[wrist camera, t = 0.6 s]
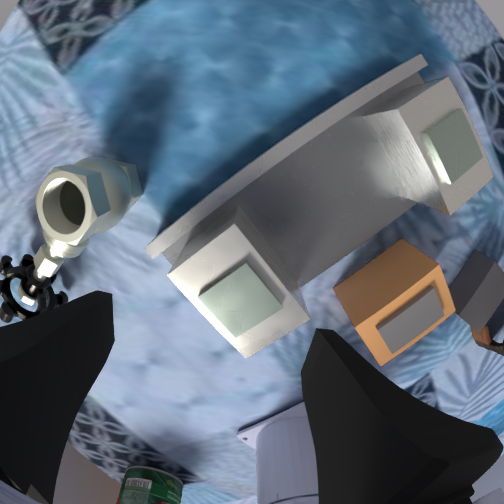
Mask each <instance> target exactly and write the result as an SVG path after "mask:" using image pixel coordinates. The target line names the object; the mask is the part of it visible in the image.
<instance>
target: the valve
mask: <svg viewBox="0 0 504 504" xmlns="http://www.w3.org/2000/svg"><path fill="white" fill-rule="evenodd" d="M142 195H143V192H142V188H141V184H140V180H139V176H138V172H137V168H136V165H133V164H129V163H125V162H121V161H117V160H113V159H107V158H104V157H89V158H85V159H82V160H80V161H78V162H77V163H75V164H74V165H64V166H59V167H54V168H53V169H52V170H51V172H50V173H49V174H48V175H47V177H46V178H45V180H44V181H43V183H42V184H41V186H40V188H39V190H38V192H37V194H36V196H35V202H36V208H37V213H38V217H39V220H40V223H41V225H42V228H43V235H44V238H45V240H46V242H47V243H45V244H44V245H42V246H41V247H40V248H39V250H38V252H37V254H36V255H35V257H34V258H33V257H32V256H31V255H29V254H25V255H24V256H23V258H22V260H21V262H20V264H19V266H17V267H13V266H12V264H11V261H12V258H11V257H10V256H7V255H5V256H3V257H2V259H1V261H0V273H1V274H2V275H4V279H3V280H0V295H1V296H2V297H3V299H4V301H5V302H3V303H2V305H1V308H0V318H1V320H2V321H4V322H6V323H8V322H11V321H12V319H13V317H18V318H20V319H22V320H26V319H29V318H32V317H34V316H37V315H39V314H42V313H44V312H47V311H49V310H52V309H54V308H56V307H59V306H61V305H63V304H65V303H67V302H68V296H67V295H66V293H64V292H63V291H60V293H59V294H54V291H53V289H52V287H51V285H52V284H53V282H54V281H55V279H56V274H55V273H56V272H57V271H58V269H59V268H60V266H61V265H62V264H63V262H64V261H65V258H64V257H68V258H74V257H77V256H79V255H80V254H81V252H82V251H83V250H84V248H85V247H86V246H87V244H88V243H89V237H90V236H91V235H92V234H96V233H101V232H104V231H107V230H109V229H111V228H112V227H114V226H115V225H116V224H117V223H118V222H119V221H120V220H121V219H122V218H123V217H124V215H125V214H126V213H127V212H128V210H129V209H130V208H131V207H132V206H133V205H134V204H135V203H136V201H137V200H138V199H139V198H140V197H141V196H142ZM14 278H19V279H21V281H20V286H19V288H18V293H19V296H20V299H21V301H23V302H24V303H26V304H29V305H33V304H34V303H36V302H37V301H38V308H37V310H36V311H35V312H31V311H28V310H26V309H24V308H23V307H21V306H20V305H19V304H18V303H17V302H16V301H15V299H14V298H13V296H12V293H11V290H10V282H11V280H13V279H14ZM46 300H47V301H46Z"/></svg>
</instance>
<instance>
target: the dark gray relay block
mask: <svg viewBox="0 0 504 504" xmlns="http://www.w3.org/2000/svg"><path fill="white" fill-rule="evenodd" d="M448 289H449V292H450V295H451V297H452V300H453V303H454V307H455V310H456V311H455V312H456V313H457V314H458V315H459V316H460V317H461V318H462V319H463V320H465V321H466V322H467V323H468V324H469V325H470V326H471V327H473V328H474V329H475V330H476V331H477V332H478V333H480V331H481V330H482V329H483V327H484V326H485V325H486V323H487V322H488V320H489V319H490V318H491V316H492V315H493V313H494V312H495V311H496V309H497V308H498V306H499V305H500V303H501V302H502V300H503V299H504V272H503V271H502V269H501V268H500V267H499V265H498V264H497V263H496V261H494V260H492V259H491V258H489V257H487V256H486V255H484V254H482V253H480V252H479V251H477V250H475V249H474V251H473V252H472V254H471V256H470V257H469V259H468V260H467V262H466V263H465V265H464V266H463V268H462V269H461V271H460V272H459V274H458V275H457V277H456V278H455V280H454V281H453V283H452V284H451V285H450V287H449V288H448Z"/></svg>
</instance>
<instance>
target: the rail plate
mask: <svg viewBox="0 0 504 504" xmlns="http://www.w3.org/2000/svg"><path fill="white" fill-rule="evenodd" d="M427 65H428V64H427V62H426V61H425V59H424V58H423V56H422V54H419V55H417V56H415V57H413V58H410V59H408V60H406V61H404V62H402V63H400V64H398V65H397V66H395V67H393V68H391V69H390V70H388V71H386V72H385V73H383V74H381V75H379V76H378V77H376V78H374V79H373V80H371V81H369V82H368V83H366V84H364V85H363V86H361V87H360V88H358V89H356V90H355V91H353V92H351V93H350V94H348V95H347V96H345V97H343V98H342V99H340V100H339V101H337V102H336V103H334V104H333V105H331V106H329V107H328V108H326V109H325V110H323V111H322V112H320V113H319V114H317V115H316V116H314V117H313V118H311V119H310V120H308V121H307V122H305V123H304V124H302V125H301V126H299V127H298V128H297V129H295V130H294V131H292V132H291V133H289V134H288V135H286V136H285V137H284V138H282V139H281V140H279V141H278V142H276V143H275V144H274V145H272V146H271V147H269V148H268V149H267V150H265V151H264V152H263V153H261V154H260V155H258V156H257V157H256V158H254V159H253V160H252V161H250V162H249V163H248V164H246V165H245V166H244V167H242V168H241V169H240V170H238V171H237V172H236V173H234V174H233V175H232V176H230V177H229V178H228V179H226V180H225V181H224V182H222V183H221V184H220V185H219V186H217V187H216V188H215V189H213V190H212V191H211V192H210V193H208V194H207V195H206V196H205V197H203V198H202V199H201V200H199V201H198V202H197V203H196V204H194V205H193V206H192V207H191V208H190V209H188V210H187V211H186V212H185V213H183V214H182V215H181V216H180V217H179V218H177V219H176V220H175V221H174V222H172V223H171V224H170V225H169V226H168V227H167V228H165V229H164V230H163V231H162V232H161V233H159V234H158V235H157V236H156V237H155V238H154V239H153V240H152V241H151V242H150V243H149V244H148V245H147V246H146V247H145V248H144V249H145V251H146V252H147V253H148V254H149V255H150V256H151V258H152V259H154V258H156V257H157V256H158V255H159V254H160V253H162V254H163V255H164V256H165V257H166V258H167V259H168V261H169V262H170V263H171V264H172V265H173V266H172V268H171V270H170V271H169V273H168V275H167V276H168V277H169V278H170V279H171V281H172V282H173V283H174V284H175V285H176V286H177V287H178V288H179V289H180V291H181V292H182V293H183V294H184V295H185V296H186V297H187V298H188V299H189V300H190V301H191V303H192V304H193V305H194V306H195V307H196V308H197V309H198V310H199V311H200V312H201V313H202V314H203V315H204V316H205V317H206V318H207V319H208V321H209V322H210V323H211V324H212V325H213V326H214V327H215V328H216V329H217V330H218V331H219V332H220V333H221V334H222V335H223V336H224V337H225V338H226V339H227V340H228V341H229V342H230V343H231V344H232V345H233V346H234V347H235V348H236V349H237V350H238V351H239V352H240V353H241V354H242V355H243V356H244V357H245V358H248V357H249V356H251V355H253V354H254V353H256V352H258V351H260V350H261V349H263V348H265V347H266V346H268V345H270V344H271V343H273V342H275V341H276V340H278V339H280V338H281V337H283V336H285V335H286V334H288V333H289V332H291V331H293V330H294V329H296V328H297V327H299V326H301V325H302V324H304V323H305V322H307V321H308V320H310V316H309V313H308V310H307V308H306V305H305V302H304V299H303V296H302V293H301V290H300V287H302V286H303V285H305V284H306V283H308V282H309V281H311V280H312V279H314V278H315V277H317V276H318V275H319V274H321V273H322V272H324V271H325V270H327V269H328V268H329V267H331V266H332V265H334V264H335V263H337V262H338V261H339V260H341V259H342V258H344V257H345V256H346V255H348V254H349V253H351V252H352V251H353V250H355V249H356V248H358V247H359V246H360V245H362V244H363V243H364V242H366V241H367V240H369V239H370V238H371V237H373V236H374V235H375V234H377V233H378V232H379V231H381V230H382V229H383V228H385V227H386V226H387V225H389V224H390V223H391V222H393V221H394V220H395V219H397V218H398V217H399V216H401V215H402V214H403V213H404V212H406V211H407V210H408V209H410V208H411V207H412V206H414V205H415V204H416V203H417V202H418V203H421V204H423V205H426V206H428V207H431V208H433V209H436V210H438V211H440V212H443V213H445V214H448V215H450V216H451V215H452V214H453V213H454V212H455V211H456V210H458V209H459V208H460V207H461V206H462V205H463V204H464V203H466V202H467V201H468V200H469V199H470V198H471V197H472V196H473V195H475V194H476V193H477V192H478V191H479V190H480V189H481V188H482V187H483V186H484V185H485V184H487V183H488V182H489V181H490V180H491V179H492V178H493V177H494V176H493V173H492V170H491V167H490V165H489V162H488V159H487V157H486V154H485V151H484V149H483V146H482V144H481V142H480V139H479V137H478V134H477V132H476V130H475V128H474V125H473V123H472V121H471V119H470V117H469V115H468V113H467V111H466V108H465V106H464V104H463V102H462V101H461V99H460V97H459V95H458V93H457V91H456V89H455V87H454V86H453V84H452V82H451V80H450V78H449V77H444V78H440V79H436V80H433V81H429V82H424V81H423V79H422V77H421V76H420V74H419V73H418V71H419V70H421V69H422V68H424V67H426V66H427Z"/></svg>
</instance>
